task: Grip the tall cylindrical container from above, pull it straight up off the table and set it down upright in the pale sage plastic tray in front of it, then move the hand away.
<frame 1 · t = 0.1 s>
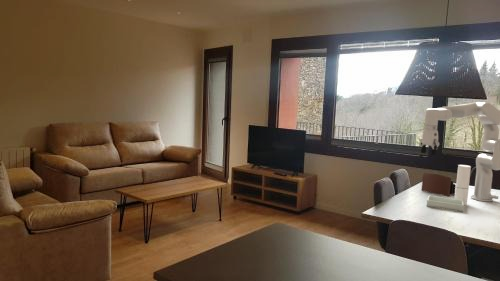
hand: (428, 154, 245), 31 cm above the table, tool pointing down, fingers open, 9 cm apart
tray: (444, 206, 237), on the table
letter holder: (437, 193, 273), on the table
cylindrical container: (460, 203, 245), on the table
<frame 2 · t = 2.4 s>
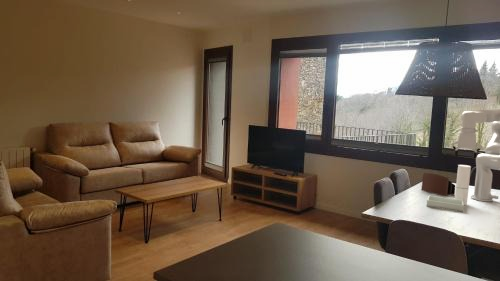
hand: (465, 157, 241), 30 cm above the table, tool pointing down, fingers open, 9 cm apart
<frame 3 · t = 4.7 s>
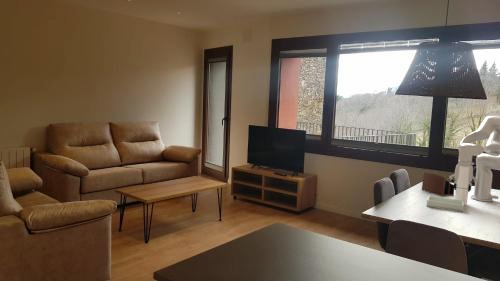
hand: (461, 190, 244), 9 cm above the table, tool pointing down, fingers closed on cylindrical container, 7 cm apart
cylindrical container: (460, 203, 245), on the table, touching gripper
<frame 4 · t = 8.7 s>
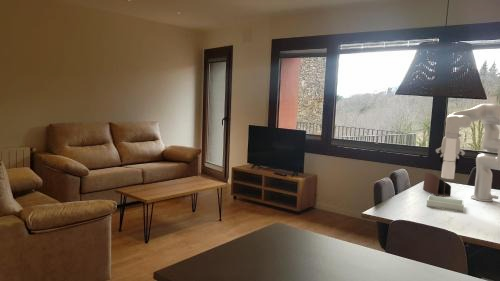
hand: (448, 163, 233), 27 cm above the table, tool pointing down, fingers closed on cylindrical container, 7 cm apart
cylindrical container: (447, 178, 235), point 18 cm above the table, touching gripper
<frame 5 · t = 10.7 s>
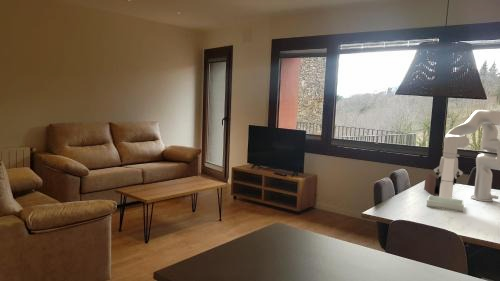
hand: (446, 183, 235), 15 cm above the table, tool pointing down, fingers closed on cylindrical container, 7 cm apart
cylindrical container: (445, 197, 236), point 6 cm above the table, touching gripper
when the fingers open (11 cm above the table, at t = 12.5 s): cylindrical container drops 1 cm, resting on tray.
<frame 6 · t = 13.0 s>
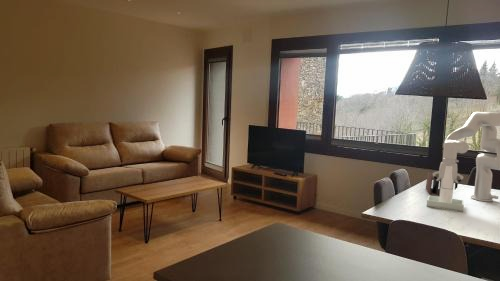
hand: (446, 188, 235), 12 cm above the table, tool pointing down, fingers open, 9 cm apart
cylindrical container: (445, 205, 237), point 1 cm above the table, touching tray
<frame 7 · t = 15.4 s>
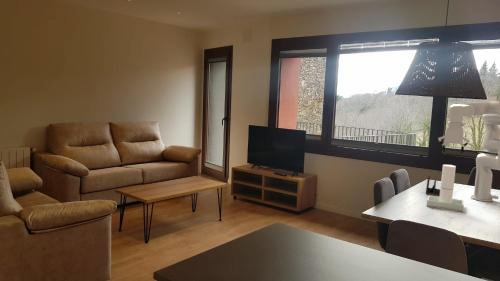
hand: (452, 152, 235), 34 cm above the table, tool pointing down, fingers open, 9 cm apart
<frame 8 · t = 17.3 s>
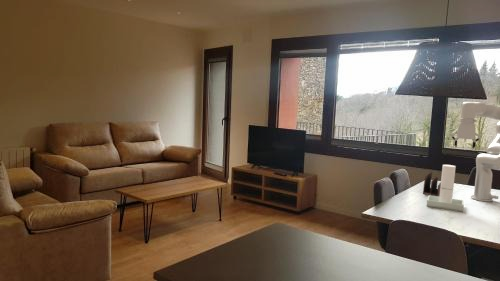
hand: (464, 147, 244), 36 cm above the table, tool pointing down, fingers open, 9 cm apart
at the end: cylindrical container inside the target area on the tray (0.1 cm from its centre), point 0.8 cm above the tray's base; cylindrical container tilted 0°; the gripper is holding nothing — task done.
